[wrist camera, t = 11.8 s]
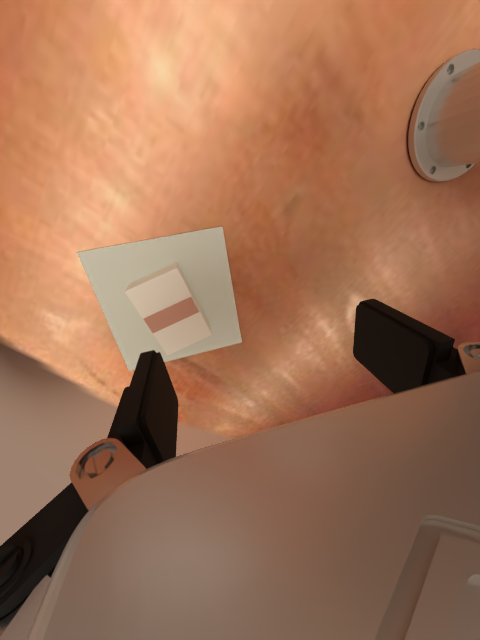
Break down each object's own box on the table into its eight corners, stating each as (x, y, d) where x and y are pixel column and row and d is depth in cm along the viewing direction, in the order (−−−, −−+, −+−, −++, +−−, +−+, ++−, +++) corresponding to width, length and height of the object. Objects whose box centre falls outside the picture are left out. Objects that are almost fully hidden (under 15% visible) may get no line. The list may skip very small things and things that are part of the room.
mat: (221, 226, 29) (222, 226, 28) (241, 340, 36) (241, 342, 35) (78, 251, 26) (77, 252, 26) (129, 369, 33) (128, 371, 33)
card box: (208, 322, 33) (212, 335, 29) (168, 341, 32) (167, 356, 29) (177, 261, 29) (177, 268, 25) (130, 282, 28) (124, 292, 25)
